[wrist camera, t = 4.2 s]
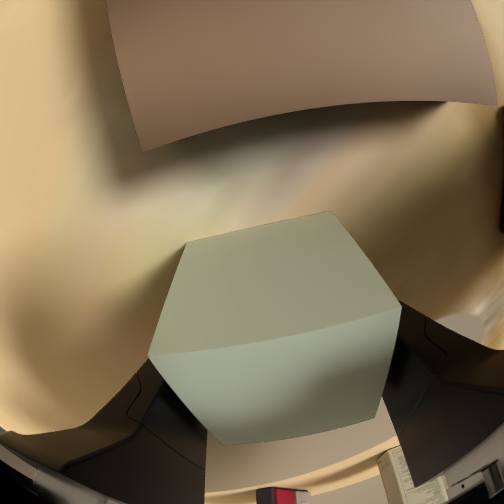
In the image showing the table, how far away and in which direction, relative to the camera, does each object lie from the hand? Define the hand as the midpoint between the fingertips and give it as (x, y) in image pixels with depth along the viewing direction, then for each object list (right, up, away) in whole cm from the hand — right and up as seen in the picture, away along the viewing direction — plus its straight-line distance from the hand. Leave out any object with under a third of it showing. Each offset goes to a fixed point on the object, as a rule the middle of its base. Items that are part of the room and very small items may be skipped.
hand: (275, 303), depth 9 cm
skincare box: (+19, -23, +15) cm, 33 cm away
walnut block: (0, +11, -4) cm, 12 cm away
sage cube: (0, 0, +1) cm, 1 cm away
